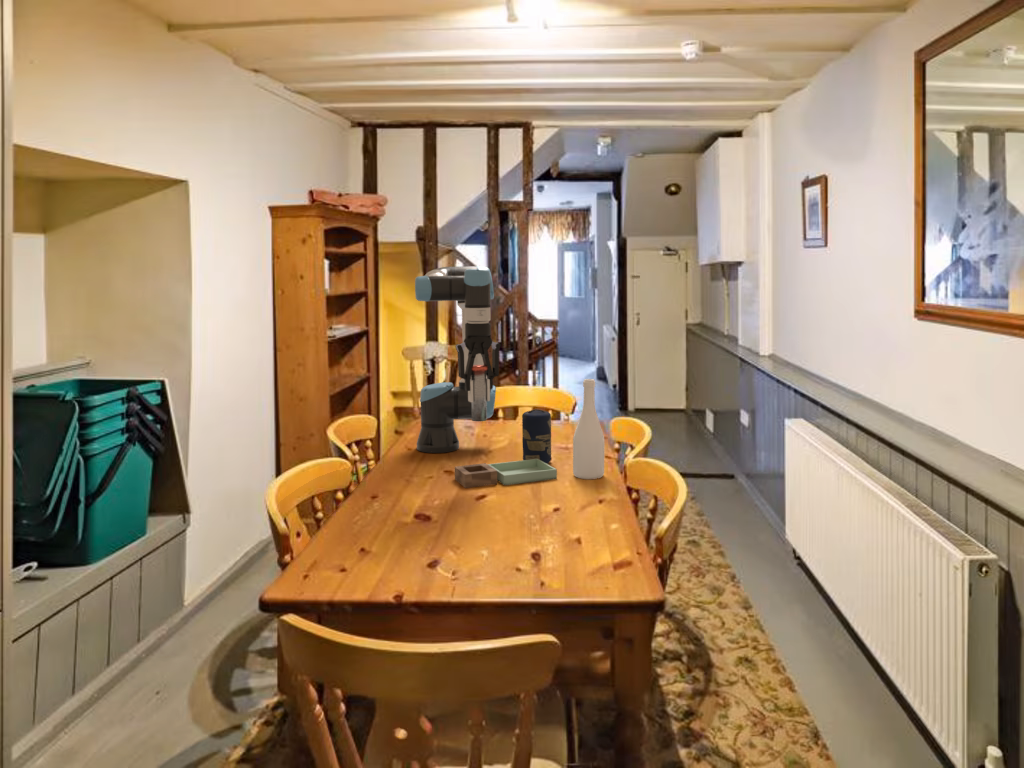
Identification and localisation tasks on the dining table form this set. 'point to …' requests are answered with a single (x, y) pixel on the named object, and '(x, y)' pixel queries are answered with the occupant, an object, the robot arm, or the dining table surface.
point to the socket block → (475, 475)
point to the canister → (536, 435)
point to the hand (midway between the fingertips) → (479, 400)
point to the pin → (479, 393)
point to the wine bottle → (588, 438)
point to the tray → (523, 471)
